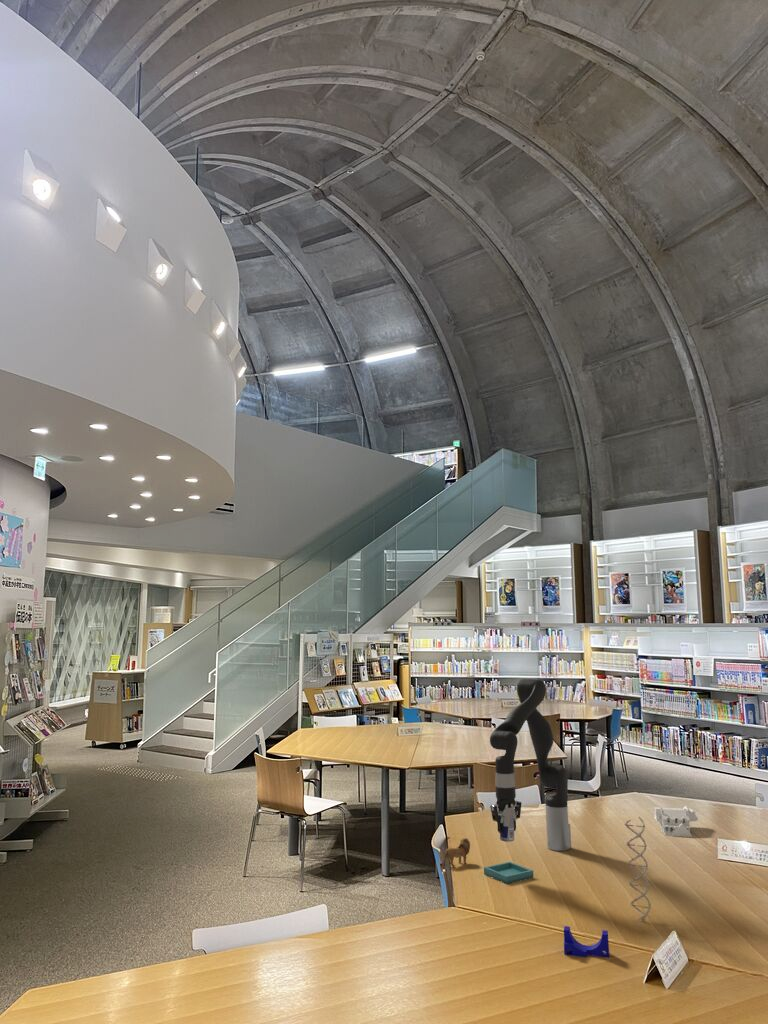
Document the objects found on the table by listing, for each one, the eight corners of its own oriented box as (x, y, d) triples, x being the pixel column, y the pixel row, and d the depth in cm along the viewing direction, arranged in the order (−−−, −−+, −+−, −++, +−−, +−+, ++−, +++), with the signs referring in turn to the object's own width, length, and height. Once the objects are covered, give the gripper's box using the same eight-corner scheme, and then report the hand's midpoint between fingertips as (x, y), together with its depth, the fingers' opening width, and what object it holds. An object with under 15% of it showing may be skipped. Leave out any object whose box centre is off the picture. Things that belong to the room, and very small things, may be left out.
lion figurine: (464, 859, 286) (463, 836, 287) (473, 862, 282) (473, 838, 284) (438, 867, 276) (438, 842, 278) (448, 870, 272) (447, 845, 274)
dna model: (636, 912, 229) (629, 814, 234) (655, 918, 224) (648, 817, 230) (626, 918, 224) (620, 818, 229) (646, 923, 220) (639, 821, 225)
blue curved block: (564, 955, 199) (563, 931, 200) (565, 948, 203) (564, 926, 204) (609, 960, 195) (607, 937, 196) (609, 954, 199) (607, 930, 200)
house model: (660, 835, 319) (658, 812, 321) (654, 824, 338) (652, 803, 340) (705, 838, 314) (703, 814, 316) (696, 826, 334) (694, 804, 335)
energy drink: (498, 838, 270) (497, 805, 272) (512, 837, 270) (511, 804, 273) (502, 842, 265) (500, 808, 267) (516, 841, 265) (514, 807, 267)
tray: (510, 868, 274) (509, 861, 274) (533, 877, 263) (533, 870, 264) (484, 874, 267) (483, 867, 268) (506, 884, 256) (506, 876, 257)
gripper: (512, 781, 278) (514, 827, 275) (484, 785, 271) (485, 832, 268) (526, 784, 272) (527, 831, 269) (497, 788, 264) (498, 836, 261)
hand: (506, 831), depth 268 cm, fingers closed on energy drink, 5 cm apart
